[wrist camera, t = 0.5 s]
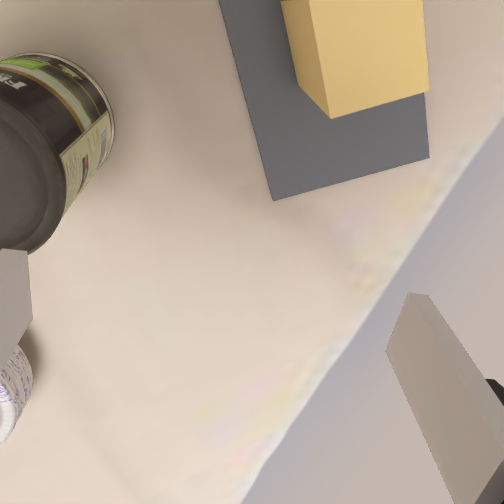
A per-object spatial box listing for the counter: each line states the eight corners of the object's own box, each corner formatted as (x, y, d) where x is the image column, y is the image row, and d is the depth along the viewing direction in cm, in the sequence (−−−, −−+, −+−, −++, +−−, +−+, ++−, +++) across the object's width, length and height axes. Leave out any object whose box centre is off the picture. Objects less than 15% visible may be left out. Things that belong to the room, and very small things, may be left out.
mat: (172, -172, 29) (171, -175, 28) (392, -248, 28) (394, -252, 27) (272, 199, 41) (273, 201, 41) (427, 156, 40) (429, 157, 40)
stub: (280, -1, 33) (308, -3, 22) (354, -24, 33) (419, -37, 22) (298, 85, 36) (330, 119, 25) (367, 64, 35) (429, 90, 25)
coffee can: (-42, 63, 34) (-189, 97, 22) (93, 42, 34) (22, 64, 22) (11, 191, 39) (-85, 277, 27) (129, 173, 39) (87, 251, 27)
